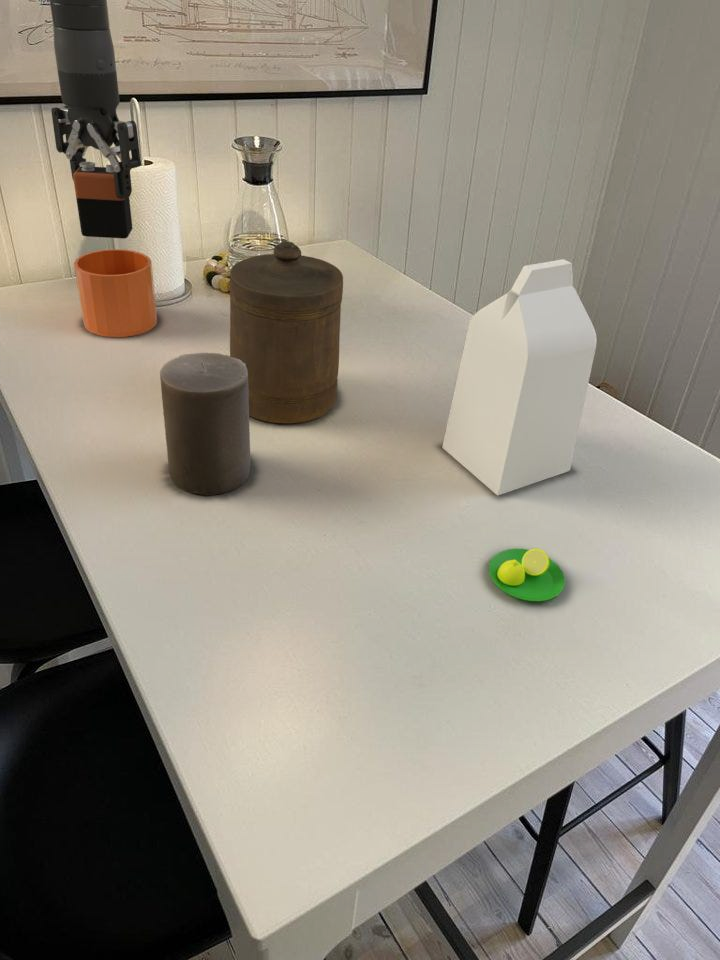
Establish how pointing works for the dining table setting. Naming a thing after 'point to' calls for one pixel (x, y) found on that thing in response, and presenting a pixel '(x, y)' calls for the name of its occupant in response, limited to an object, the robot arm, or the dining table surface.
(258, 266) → the wooden container
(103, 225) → the battery
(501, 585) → the plate of lemons
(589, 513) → the dining table surface
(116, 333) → the pot
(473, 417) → the milk
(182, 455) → the pillar candle
